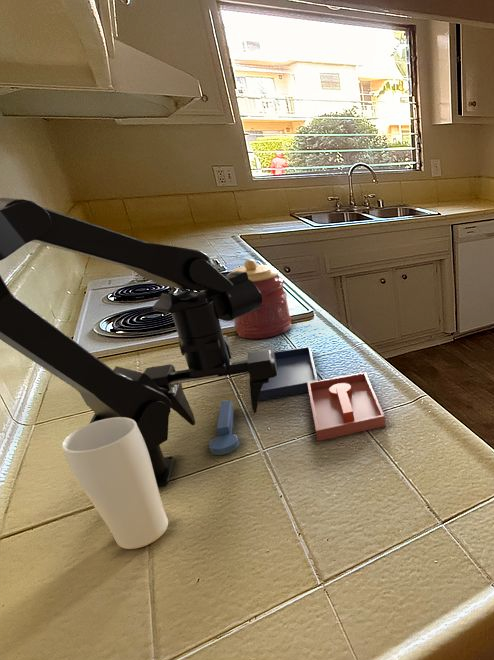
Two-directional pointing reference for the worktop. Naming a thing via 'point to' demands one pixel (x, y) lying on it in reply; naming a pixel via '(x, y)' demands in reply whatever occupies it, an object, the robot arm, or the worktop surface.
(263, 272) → the kitchen canister
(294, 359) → the navy tray
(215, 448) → the blue spoon
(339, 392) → the terracotta spoon
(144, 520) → the drinking glass
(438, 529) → the worktop surface
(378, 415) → the rose tray
